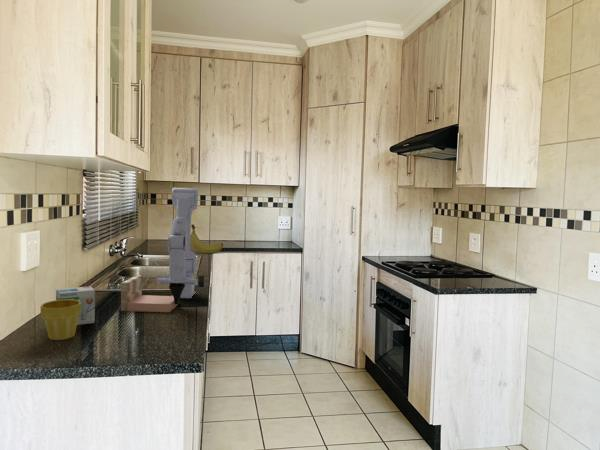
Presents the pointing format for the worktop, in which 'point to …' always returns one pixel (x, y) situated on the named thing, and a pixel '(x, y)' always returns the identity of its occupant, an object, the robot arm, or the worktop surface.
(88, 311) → the light bulb box
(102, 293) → the worktop surface
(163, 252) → the worktop surface
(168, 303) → the book
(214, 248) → the banana
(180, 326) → the worktop surface
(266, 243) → the worktop surface
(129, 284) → the bookend
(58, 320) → the plant pot
